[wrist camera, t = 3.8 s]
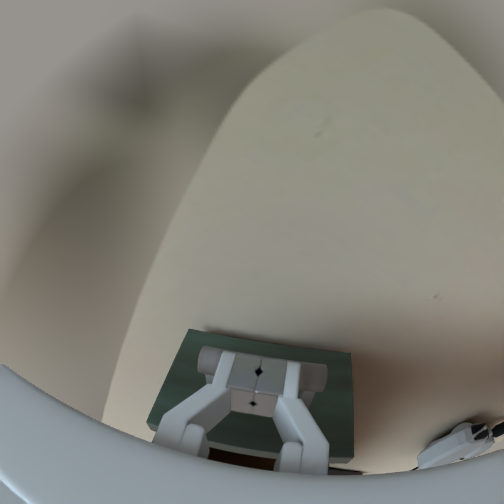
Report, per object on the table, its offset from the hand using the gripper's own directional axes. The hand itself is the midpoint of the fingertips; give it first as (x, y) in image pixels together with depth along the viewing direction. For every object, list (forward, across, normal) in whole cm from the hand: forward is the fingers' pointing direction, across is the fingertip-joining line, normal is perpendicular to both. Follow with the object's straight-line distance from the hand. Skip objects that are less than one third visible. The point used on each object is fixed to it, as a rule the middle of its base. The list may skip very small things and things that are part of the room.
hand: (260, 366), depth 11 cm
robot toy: (+7, -30, +24) cm, 39 cm away
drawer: (+6, 0, +10) cm, 12 cm away
